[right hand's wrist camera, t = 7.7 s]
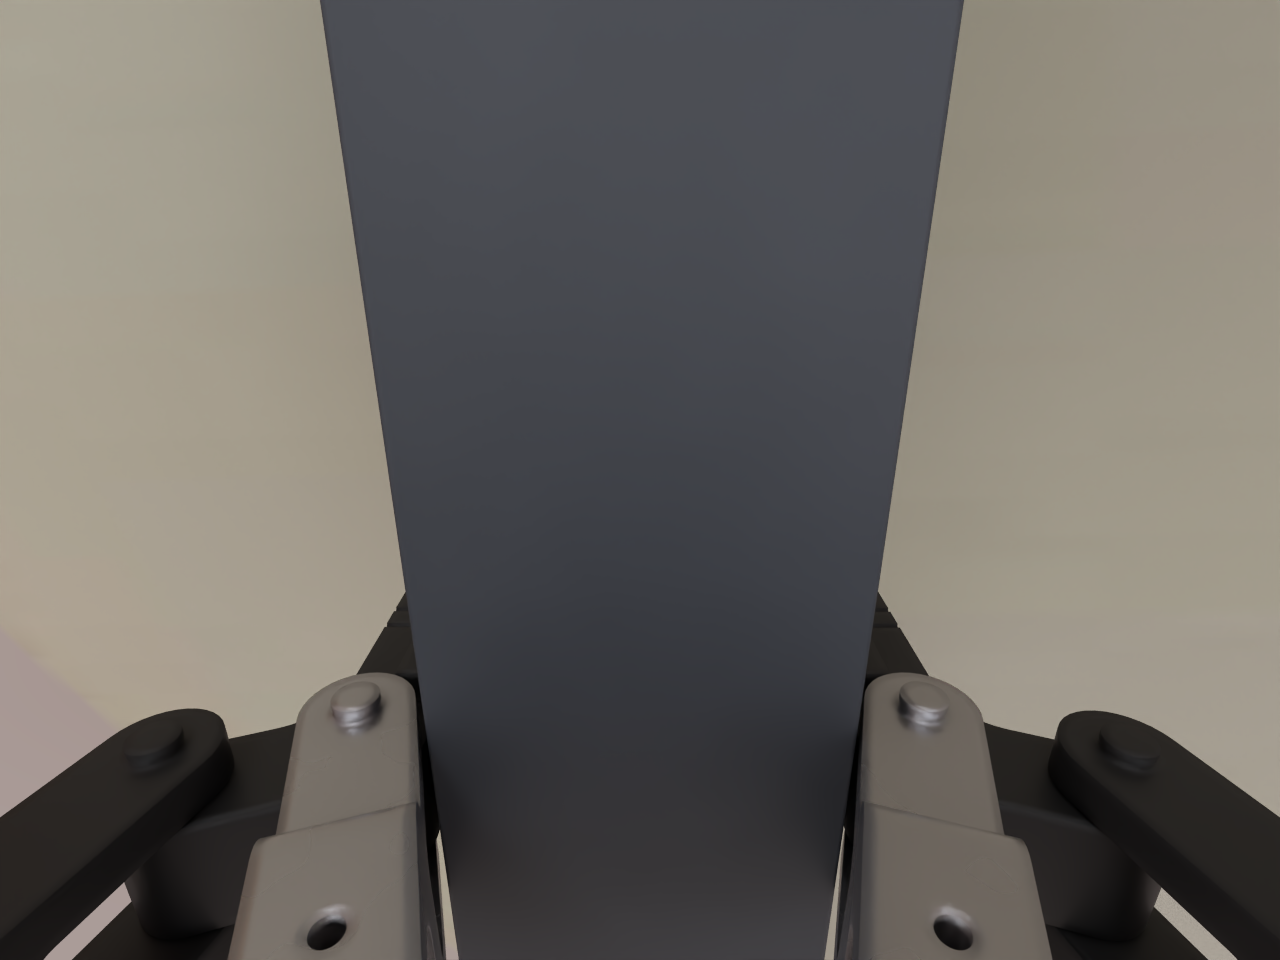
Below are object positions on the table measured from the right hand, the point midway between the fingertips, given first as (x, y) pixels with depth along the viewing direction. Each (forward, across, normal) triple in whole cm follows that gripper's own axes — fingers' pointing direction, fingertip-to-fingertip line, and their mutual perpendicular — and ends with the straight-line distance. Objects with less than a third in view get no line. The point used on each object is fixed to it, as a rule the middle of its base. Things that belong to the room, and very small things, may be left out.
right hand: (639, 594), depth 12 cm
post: (+2, 0, -33) cm, 33 cm away
